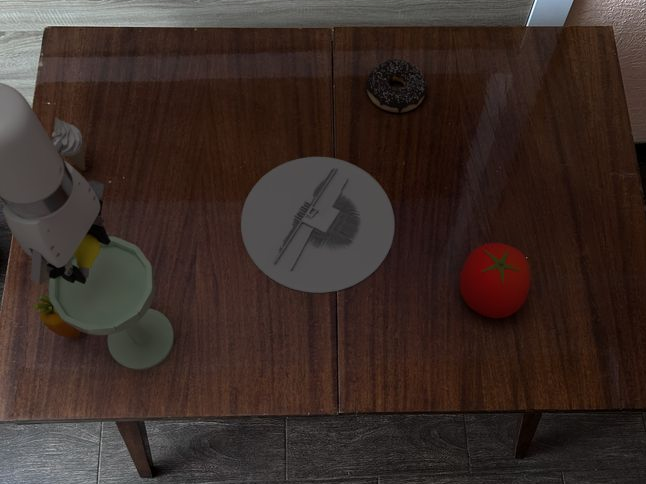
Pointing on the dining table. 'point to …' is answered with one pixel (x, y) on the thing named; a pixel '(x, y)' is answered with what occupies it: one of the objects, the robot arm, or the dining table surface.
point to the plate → (317, 224)
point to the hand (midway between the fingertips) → (87, 258)
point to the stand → (143, 342)
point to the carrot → (54, 319)
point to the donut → (396, 97)
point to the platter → (107, 291)
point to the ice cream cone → (70, 142)
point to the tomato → (495, 280)
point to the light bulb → (87, 253)
